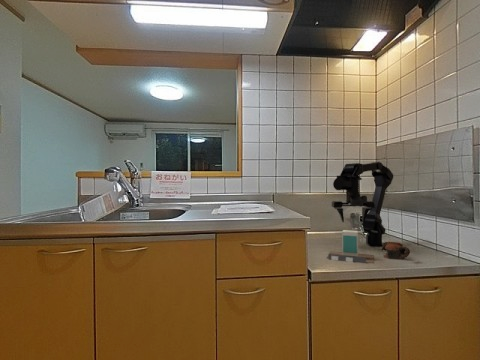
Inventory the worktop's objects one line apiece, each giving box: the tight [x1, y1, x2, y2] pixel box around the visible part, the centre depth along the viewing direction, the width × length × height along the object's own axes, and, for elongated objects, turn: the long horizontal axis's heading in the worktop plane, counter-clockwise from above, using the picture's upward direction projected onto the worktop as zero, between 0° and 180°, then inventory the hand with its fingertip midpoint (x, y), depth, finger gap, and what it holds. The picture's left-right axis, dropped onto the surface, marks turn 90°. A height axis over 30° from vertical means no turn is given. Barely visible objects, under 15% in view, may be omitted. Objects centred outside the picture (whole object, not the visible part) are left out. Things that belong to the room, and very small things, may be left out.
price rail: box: [327, 253, 367, 264], centre depth 114 cm, size 1×14×3 cm, turn 65°
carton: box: [341, 229, 359, 257], centre depth 118 cm, size 4×6×11 cm
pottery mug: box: [381, 241, 411, 261], centre depth 118 cm, size 12×10×8 cm
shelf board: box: [326, 250, 375, 264], centre depth 119 cm, size 12×18×1 cm
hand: (353, 222), depth 135 cm, fingers open, 9 cm apart
